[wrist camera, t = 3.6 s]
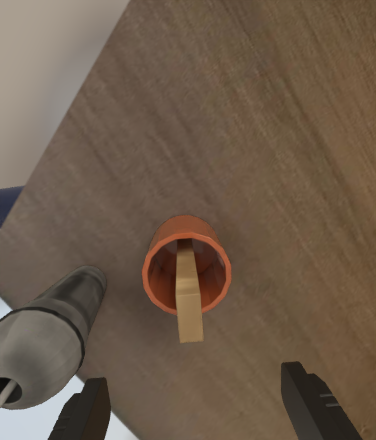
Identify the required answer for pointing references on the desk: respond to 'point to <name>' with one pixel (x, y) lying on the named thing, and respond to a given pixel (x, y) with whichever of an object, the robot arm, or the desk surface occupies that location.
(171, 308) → the utensil cup
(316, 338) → the desk surface
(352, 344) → the desk surface
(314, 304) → the desk surface
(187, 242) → the wooden block
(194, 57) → the desk surface
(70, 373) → the beverage cup
